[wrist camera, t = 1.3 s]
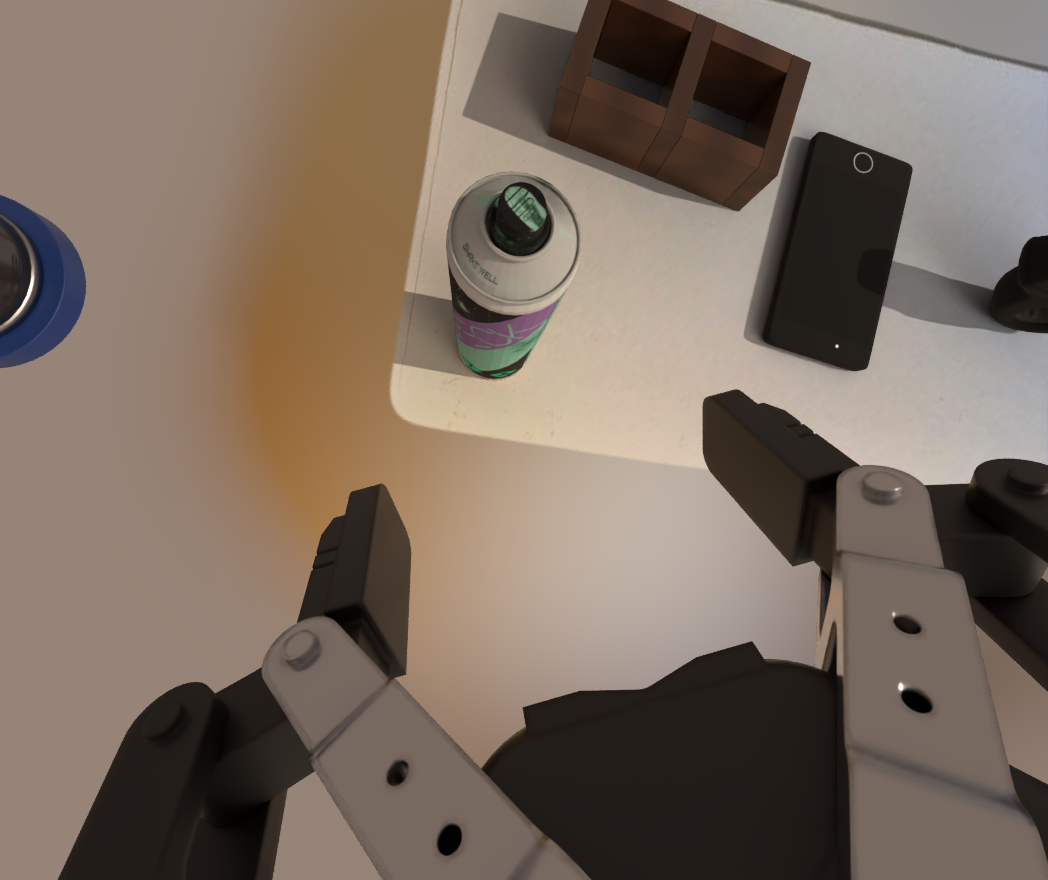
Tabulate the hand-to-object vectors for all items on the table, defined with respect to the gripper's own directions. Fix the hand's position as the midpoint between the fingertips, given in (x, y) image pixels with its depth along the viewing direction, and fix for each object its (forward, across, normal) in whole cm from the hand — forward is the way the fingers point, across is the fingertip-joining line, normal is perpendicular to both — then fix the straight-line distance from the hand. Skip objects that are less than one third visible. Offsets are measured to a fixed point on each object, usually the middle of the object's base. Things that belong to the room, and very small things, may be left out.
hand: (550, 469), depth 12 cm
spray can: (+25, 0, +6) cm, 26 cm away
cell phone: (+28, -29, +7) cm, 41 cm away
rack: (+34, -18, -5) cm, 39 cm away
